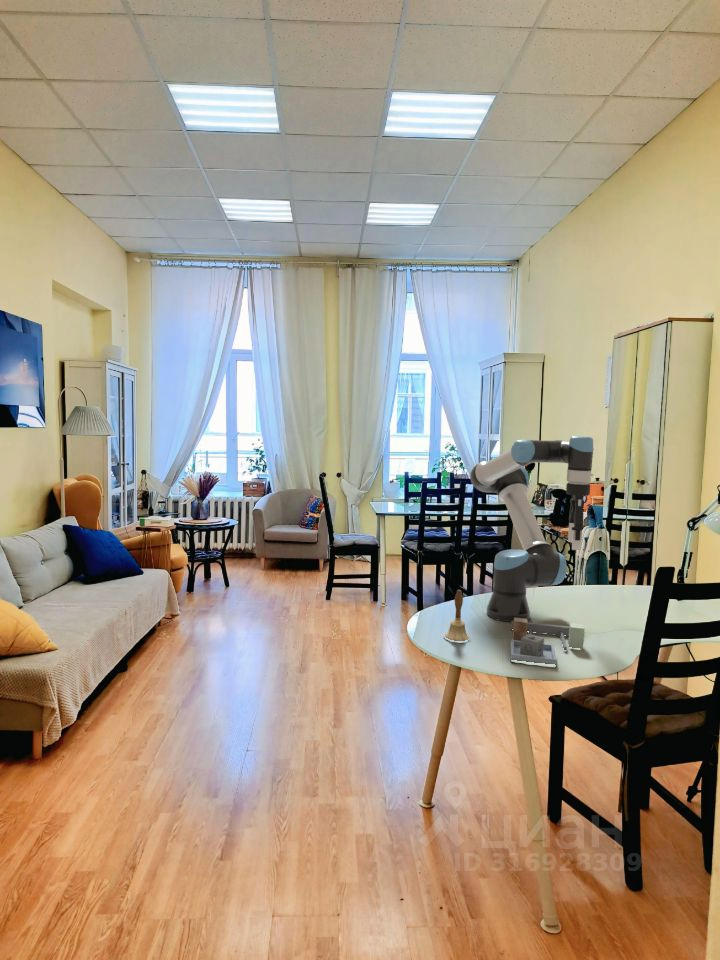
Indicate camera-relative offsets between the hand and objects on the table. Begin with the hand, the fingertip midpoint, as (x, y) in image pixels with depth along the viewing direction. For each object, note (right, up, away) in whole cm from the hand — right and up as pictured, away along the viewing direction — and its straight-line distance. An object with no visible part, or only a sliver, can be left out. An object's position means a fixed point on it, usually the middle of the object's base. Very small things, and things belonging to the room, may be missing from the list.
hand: (574, 545), depth 212 cm
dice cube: (-21, -30, -24) cm, 44 cm away
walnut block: (-21, -29, -11) cm, 38 cm away
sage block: (-5, -30, -15) cm, 34 cm away
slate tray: (-21, -31, -24) cm, 44 cm away
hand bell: (-41, -29, -10) cm, 51 cm away
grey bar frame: (-12, -29, -10) cm, 33 cm away
